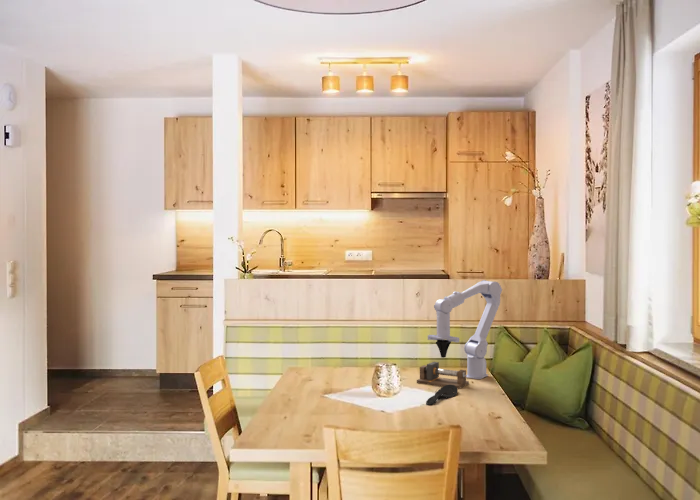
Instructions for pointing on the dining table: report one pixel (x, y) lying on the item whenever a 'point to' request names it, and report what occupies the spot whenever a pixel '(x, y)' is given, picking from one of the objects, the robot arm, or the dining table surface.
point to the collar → (430, 370)
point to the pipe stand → (443, 381)
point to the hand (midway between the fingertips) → (443, 357)
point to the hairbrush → (448, 390)
